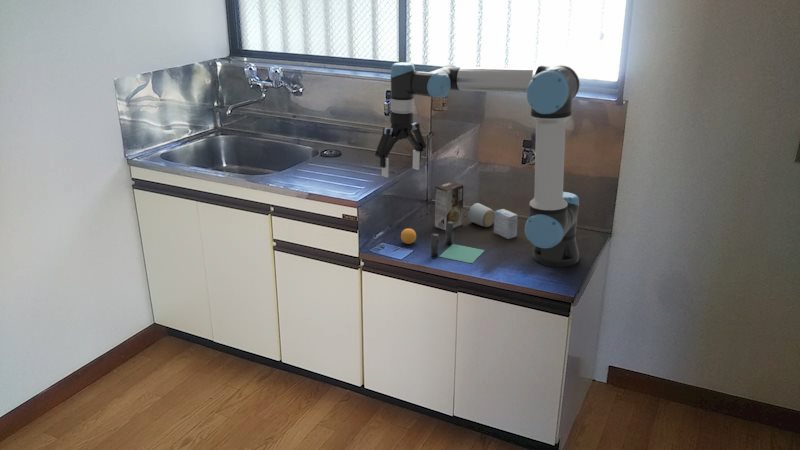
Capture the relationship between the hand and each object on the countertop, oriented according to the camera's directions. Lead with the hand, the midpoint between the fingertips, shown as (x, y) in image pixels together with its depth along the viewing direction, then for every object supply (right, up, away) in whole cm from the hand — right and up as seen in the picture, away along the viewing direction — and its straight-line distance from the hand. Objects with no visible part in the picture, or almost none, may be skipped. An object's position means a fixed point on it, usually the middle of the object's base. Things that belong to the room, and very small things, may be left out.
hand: (400, 172), depth 232 cm
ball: (+3, -22, +9) cm, 24 cm away
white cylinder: (+32, -17, +28) cm, 46 cm away
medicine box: (+38, -22, +18) cm, 47 cm away
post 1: (+12, -28, 0) cm, 31 cm away
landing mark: (+21, -28, +2) cm, 35 cm away
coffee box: (+18, -18, +26) cm, 37 cm away
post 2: (+17, -24, +10) cm, 31 cm away
